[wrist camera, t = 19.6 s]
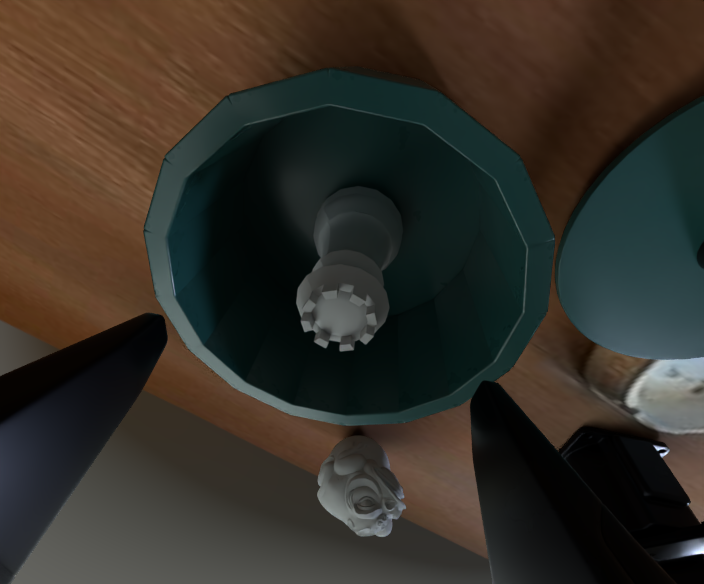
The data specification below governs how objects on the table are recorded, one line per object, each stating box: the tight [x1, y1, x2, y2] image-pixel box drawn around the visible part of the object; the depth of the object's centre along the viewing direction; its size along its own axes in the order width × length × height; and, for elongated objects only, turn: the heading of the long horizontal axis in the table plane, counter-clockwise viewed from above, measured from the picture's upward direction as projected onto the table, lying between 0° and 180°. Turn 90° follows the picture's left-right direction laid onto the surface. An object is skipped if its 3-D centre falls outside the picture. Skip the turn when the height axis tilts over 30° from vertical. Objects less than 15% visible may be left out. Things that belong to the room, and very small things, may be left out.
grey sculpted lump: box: [318, 435, 406, 537], centre depth 26 cm, size 6×7×7 cm
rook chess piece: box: [296, 186, 403, 351], centre depth 14 cm, size 4×4×8 cm
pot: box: [143, 66, 555, 426], centre depth 15 cm, size 14×14×8 cm
